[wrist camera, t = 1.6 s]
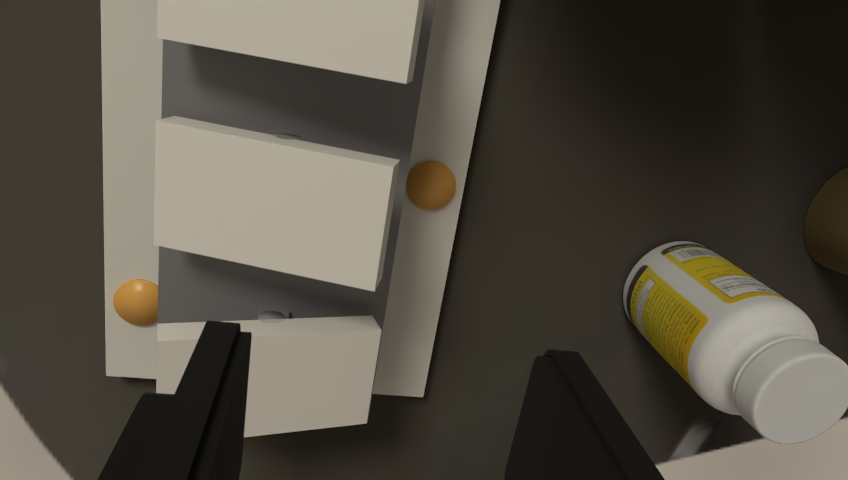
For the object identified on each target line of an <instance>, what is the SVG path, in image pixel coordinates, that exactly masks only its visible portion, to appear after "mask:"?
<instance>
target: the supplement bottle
mask: <svg viewBox="0 0 848 480" xmlns="http://www.w3.org/2000/svg"><path fill="white" fill-rule="evenodd" d="M623 304H624V309H625V312H626V314H627V316H628V318H629V320H630V321H631V322H632V324H633V325H634V326H635V327H636V329H637V330H638V331H639V332H640V333H641V334H642V335H643V336H644V337H645V338H646V339H647V341H648V342H649V343H650V344H651V345H652V346H653V347H654V348H655V349H656V350H657V351H658V353H659V354H660V355H661V356H662V357H663V358H664V359H665V360H666V361H667V362H668V363H669V364H670V365H671V366H672V367H673V368H674V369H675V370H676V371H677V372H678V373H679V375H680V376H681V377H682V378H683V379H684V380H685V381H686V382H687V383H688V384H689V385H690V386H691V387H692V389H693V390H694V391H695V392H696V393H697V394H698V395H699V396H700V397H701V398H702V399H703V400H704V401H706V402H707V403H708V404H709V405H711V406H712V407H714V408H715V409H717V410H720V411H722V412H725V413H728V414H733V415H741V416H742V417H743V418H744V419H745V420H746V421H747V422H748V423H749V424H750V425H751V426H752V427H753V428H754V429H755V430H756V431H757V432H759V433H760V434H761V435H762V436H763V437H765V438H766V439H768V440H770V441H772V442H775V443H779V444H795V443H801V442H804V441H808V440H810V439H812V438H815V437H816V436H819V435H820V434H822V433H823V432H825V431H827V430H828V429H829V428H831V427H832V426H833V425H834V424H835V423H836V422H837V421H838V420H839V419H840V418H841V417H842V415H843V414H844V413H845V411H846V409H847V407H848V366H847V364H846V363H845V362H844V361H843V360H841V359H840V358H839V357H837V356H836V355H835V354H833V353H832V352H831V351H829V350H828V349H827V348H825V347H824V346H822V345H821V344H819V339H818V335H817V332H816V329H815V327H814V325H813V323H812V321H811V320H810V319H809V317H808V316H807V315H806V314H805V313H804V312H803V311H802V310H801V309H799V308H798V307H797V306H795V305H794V304H793V303H791V302H790V301H788V300H787V299H785V298H784V297H782V296H781V295H779V294H778V293H776V292H774V291H773V290H771V289H770V288H768V287H767V286H765V285H764V284H762V283H761V282H759V281H758V280H756V279H755V278H753V277H752V276H750V275H749V274H747V273H746V272H744V271H743V270H741V269H740V268H738V267H736V266H735V265H733V264H732V263H730V262H729V261H727V260H726V259H724V258H723V257H721V256H720V255H718V254H716V253H715V252H713V251H712V250H710V249H709V248H706V247H705V246H703V245H700V244H697V243H694V242H688V241H677V242H670V243H667V244H664V245H661V246H659V247H657V248H655V249H653V250H652V251H650V252H649V253H647V254H646V255H645V256H643V257H642V258H641V259H640V260H639V261H638V262H637V264H636V265H635V266H634V267H633V269H632V270H631V272H630V274H629V276H628V278H627V280H626V283H625V286H624V291H623Z"/></svg>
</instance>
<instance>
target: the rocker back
mask: <svg viewBox="0 0 848 480" xmlns="http://www.w3.org/2000/svg"><path fill="white" fill-rule="evenodd" d="M221 322H232V323H240V326H241V332H251V334H252V338H251V351H250V364H249V377H248V389H247V402H246V415H245V428H244V437H252V436H261V435H269V434H278V433H287V432H296V431H305V430H314V429H322V428H331V427H340V426H349V425H358V424H367V418H368V412H369V405H370V399H371V393H372V387H373V381H374V374H375V368H376V362H377V356H378V349H379V343H380V337H381V331H382V330H381V329H380V327H379V325H378V324H377V322H376V321H375V319H374V317H373V316H347V317H320V318H293V319H285V316H284V314H282V313H281V312H278V311H264V312H261V313H260V314H259V315H258V320H240V321H221ZM205 324H206V322H186V323H159V324H157V376H156V393H163V394H175V392H176V390H177V387H178V385H179V383H180V380H181V378H182V376H183V374H184V371H185V369H186V367H187V365H188V362H189V360H190V358H191V355H192V353H193V351H194V349H195V346H196V344H197V342H198V340H199V337H200V335H201V333H202V330H203V328H204V326H205Z"/></svg>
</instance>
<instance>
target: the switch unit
mask: <svg viewBox="0 0 848 480" xmlns="http://www.w3.org/2000/svg"><path fill="white" fill-rule="evenodd" d="M157 2H158V0H101V48H102V120H103V191H104V263H105V334H106V376H118V377H133V378H147V379H156V376H157V324H159V323H186V322H207V321H208V320H209V321H240V320H258V315H259V314H260V313H261V312H264V311H278V312H281V313H282V314H284V316H285V319H293V318H320V317H347V316H373V317H374V319H375V321H376V322H377V324H378V325H379V327H380V329H381V330H382V331H381V337H380V343H379V349H378V356H377V362H376V368H375V374H374V381H373V387H372V393H371V399H372V394H382V395H397V396H411V397H423V396H424V390H425V385H426V380H427V375H428V370H429V365H430V360H431V354H432V349H433V344H434V339H435V334H436V329H437V324H438V319H439V313H440V308H441V303H442V298H443V293H444V288H445V283H446V278H447V272H448V267H449V262H450V257H451V252H452V247H453V242H454V236H455V231H456V226H457V221H458V216H459V211H460V206H461V201H462V195H463V190H464V185H465V180H466V175H467V170H468V165H469V159H470V154H471V149H472V144H473V139H474V134H475V129H476V124H477V118H478V113H479V108H480V103H481V98H482V93H483V88H484V83H485V77H486V72H487V67H488V62H489V57H490V52H491V47H492V41H493V36H494V31H495V26H496V21H497V16H498V11H499V6H500V0H425V3H424V10H423V16H422V23H421V29H420V36H419V42H418V48H417V55H416V61H415V68H414V74H413V81H412V82H410V83H407V84H404V83H398V82H393V81H388V80H382V79H377V78H371V77H366V76H361V75H355V74H350V73H344V72H339V71H334V70H328V69H323V68H317V67H312V66H307V65H301V64H296V63H290V62H285V61H280V60H274V59H269V58H263V57H258V56H253V55H247V54H242V53H236V52H231V51H226V50H220V49H215V48H209V47H204V46H199V45H193V44H188V43H183V42H177V41H172V40H166V39H161V38H157ZM172 116H178V117H183V118H188V119H193V120H199V121H204V122H209V123H214V124H219V125H224V126H229V127H234V128H240V129H245V130H250V131H255V132H260V133H265V134H270V135H273V134H276V133H287V134H293V135H297V136H300V137H302V138H303V140H302V141H306V142H311V143H316V144H322V145H327V146H332V147H337V148H342V149H347V150H352V151H357V152H363V153H368V154H373V155H378V156H383V157H388V158H393V159H399V160H400V164H399V171H398V177H397V184H396V190H395V196H394V203H393V209H392V216H391V222H390V229H389V235H388V242H387V248H386V254H385V261H384V267H383V274H382V279H381V281H380V283H379V285H378V286H377V288H376V290H375V292H374V291H369V290H364V289H360V288H355V287H350V286H345V285H341V284H336V283H331V282H327V281H322V280H317V279H313V278H308V277H303V276H298V275H294V274H289V273H284V272H280V271H275V270H270V269H265V268H261V267H256V266H251V265H247V264H242V263H237V262H232V261H228V260H223V259H218V258H214V257H209V256H204V255H199V254H195V253H190V252H185V251H181V250H176V249H171V248H166V247H162V246H157V245H154V194H155V130H156V120H159V119H164V118H168V117H172ZM371 399H370V405H371ZM370 405H369V411H370ZM368 417H369V412H368ZM367 423H368V418H367Z"/></svg>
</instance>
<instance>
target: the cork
mask: <svg viewBox="0 0 848 480" xmlns="http://www.w3.org/2000/svg"><path fill="white" fill-rule="evenodd" d="M803 236H804V241H805V245H806V249H807V251H808V252H809V254H810V255H811V256H812V258H813V259H814V261H816V262H818V263H819V264H821V265H822V266H824V267H826V268H828V269H831V270H834V271H836V272H839V273H842V274H845V275H848V167H846V168H844V169H842V170H840V171H839V172H838V173H837V174H835V175H834V176H833V177H832V178H830V179H829V180H828V181H827V182H826V183H825V184H824V185H823V186H822V188H821V189H820V190H819V192H818V193H817V194H816V195H815V197H814V198H813V200H812V202H811V204H810V207H809V209H808V211H807V214H806V216H805V222H804V230H803Z"/></svg>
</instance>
